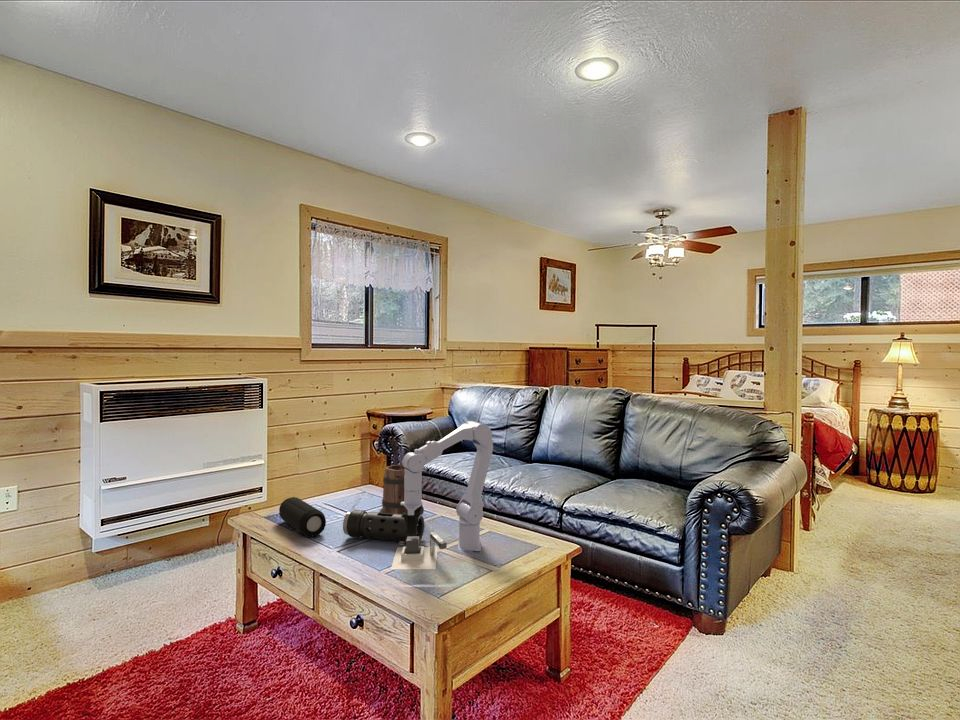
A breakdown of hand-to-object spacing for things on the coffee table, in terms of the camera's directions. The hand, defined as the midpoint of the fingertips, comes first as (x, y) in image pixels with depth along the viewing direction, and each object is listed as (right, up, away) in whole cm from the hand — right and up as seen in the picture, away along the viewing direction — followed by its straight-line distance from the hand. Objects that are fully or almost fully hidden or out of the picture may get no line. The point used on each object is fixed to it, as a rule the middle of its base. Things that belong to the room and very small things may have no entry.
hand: (412, 529), depth 173 cm
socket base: (+1, -10, -1) cm, 10 cm away
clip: (+8, -9, -4) cm, 13 cm away
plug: (-1, -9, 0) cm, 9 cm away
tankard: (-10, -9, +43) cm, 45 cm away
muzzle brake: (-13, -9, +16) cm, 22 cm away
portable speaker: (-46, -9, +27) cm, 55 cm away
